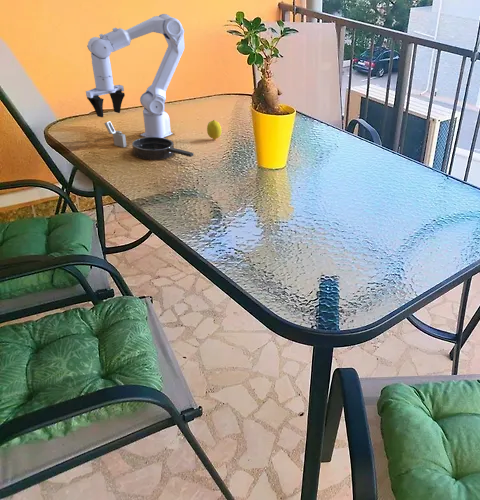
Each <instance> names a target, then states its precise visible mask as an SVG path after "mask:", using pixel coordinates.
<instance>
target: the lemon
mask: <svg viewBox="0 0 480 500" xmlns="http://www.w3.org/2000/svg"><path fill="white" fill-rule="evenodd" d="M222 130H223V129H222V126H221V124H220V122H219V121H217V120H215V119H213V120H211V121H209V122H208V124H207V125H206V133H207V135H208V137H210V138H211V139H212V140H214V141H216V140H217V139H219V138H220V137H221V135H222V132H223V131H222Z"/></svg>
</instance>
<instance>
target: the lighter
mask: <svg viewBox="0 0 480 500" xmlns="http://www.w3.org/2000/svg"><path fill="white" fill-rule="evenodd" d="M103 124H104V125H105V128H106V130H107V131H108V133H109V135H112V138H113V144H114V146H117V147H121V148H126V147H127V146H128V145H127V139H126V134H125V133H123V132H122V131H121V130H115V128H114V125H113V124H112V122H111V120H109V121H105V122H104V123H103Z"/></svg>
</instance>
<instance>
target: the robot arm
mask: <svg viewBox="0 0 480 500" xmlns="http://www.w3.org/2000/svg"><path fill="white" fill-rule="evenodd" d="M151 33H156V34H161V35H163V36H164V39H165V41H166V44H167V45H168V46H167V48H166V50H165V52H164V55H163V57H162V60H161V61H160V64H159V66H158V68H157V71H156V73H155V76H154V78H153V80H152V83H151V85H149V86H147V87H146V91H144V92H143V93H142V94H141V96H140V98H139V102H140V104H141V106H142V107H143V110H142V117H143V124H144V125H143V127H144V132H143V133H140V137H142V138H145V137H160V138H166V137H169V136H171V135H173V132H172V131H171V119H170V115H169V114H168V113H167V111H165V108H166V107H165V104H166V100H167V95H166V92H167V90H168V87H169V85H170V83H171V81H172V78H173V76H174V74H175V72H176V69H177V67H178V65H179V62H180V60H181V57H182V56H183V53H184V51H185V37H184V34H185V29H184V27H183V25H182V23H181V21H180V20H179V19H178V18H176V17H172V16H170V15H169V14H167V13H161V14H159V15H155V16H152V17H150V18H148V19H146V20H144V21H142V22H140V23H138V24H136V25H134V26H132V27H129V28H127V29H125V28H124V29H123V28H121V27H119V28H117V27H113V28H112V31H109V32H106V33H104V34H103V33H100V34H99V37H97V36H93V37H90V39H88V42H87V44H86V47H87V50H88V51H89V52H90V58H91V66H92V71H93V78H94V85H95V87H94V88H91V89H89V90H85V94H86V95H85V96H86V100H88V102H89V103H90V105H92V108H93V109H94V112H95V114H96V116H97V118H104V109H103V106H104V98H102V97H100V96H105V95H108V94H109V96H110V99H111V102H112V108H113V112H114V113H117V114H121V109H122V104H123V100H124V98H125V96H126V95H125V87H124V85H122V84H116V85H115V84H114V77H113V70H112V64H111V63H112V62H111V60H110V59H111V58H110V56H111V54H112V53H115V52H116V51H119V50H121V49H123V48H126V47H128V46H130V45H131V42H132V40H135V39H137V38H140V37H143V36H146V35H149V34H151Z"/></svg>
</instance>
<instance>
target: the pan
mask: <svg viewBox="0 0 480 500" xmlns="http://www.w3.org/2000/svg"><path fill="white" fill-rule="evenodd" d="M131 146H132V154H133V155H134V156H135V157H137V158H139V159H142V160H149V161H151V160H152V161H157V160H165V159H169V158H170V157H173V155H175V153H173V152H169V148H171V147H172V148H175V145H174V141H173V140H171V139H170V138H166V137H164V138H160V137H140V138H137V139H134V140H133V141H132V142H131Z"/></svg>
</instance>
